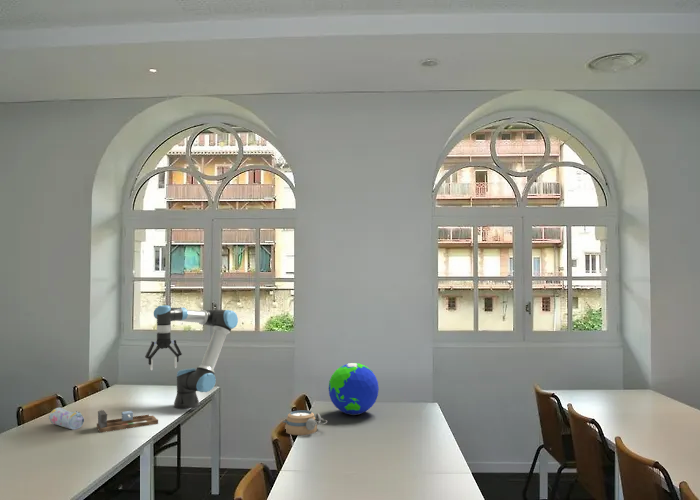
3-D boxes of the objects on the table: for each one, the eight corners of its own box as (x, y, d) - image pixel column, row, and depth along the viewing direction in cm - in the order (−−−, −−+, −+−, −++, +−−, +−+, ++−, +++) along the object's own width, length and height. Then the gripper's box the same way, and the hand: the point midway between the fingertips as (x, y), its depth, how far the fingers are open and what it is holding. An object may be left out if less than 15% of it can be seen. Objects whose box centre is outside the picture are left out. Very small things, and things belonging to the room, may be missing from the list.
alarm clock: (292, 408, 311) (331, 411, 304) (292, 424, 311) (331, 428, 304) (279, 416, 295) (320, 419, 288) (279, 433, 295) (320, 437, 288)
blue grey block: (131, 419, 315) (131, 410, 315) (134, 423, 307) (134, 414, 308) (121, 421, 313) (121, 412, 313) (124, 425, 305) (124, 415, 305)
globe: (386, 410, 339) (386, 360, 340) (367, 423, 312) (366, 369, 313) (342, 405, 352) (341, 357, 353) (319, 417, 325) (319, 365, 325)
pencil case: (85, 427, 309) (85, 410, 309) (70, 431, 302) (70, 413, 302) (62, 422, 320) (62, 405, 320) (47, 426, 313) (47, 409, 313)
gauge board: (153, 418, 325) (153, 403, 325) (158, 423, 315) (158, 407, 315) (96, 427, 309) (96, 410, 309) (100, 432, 299) (100, 415, 299)
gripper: (183, 330, 336) (183, 365, 335) (139, 333, 322) (139, 370, 322) (187, 331, 329) (187, 367, 329) (142, 334, 316) (142, 372, 315)
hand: (163, 369), depth 325 cm, fingers open, 13 cm apart
